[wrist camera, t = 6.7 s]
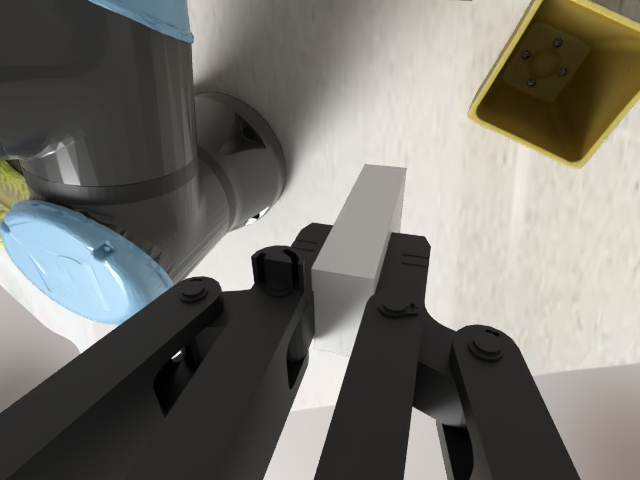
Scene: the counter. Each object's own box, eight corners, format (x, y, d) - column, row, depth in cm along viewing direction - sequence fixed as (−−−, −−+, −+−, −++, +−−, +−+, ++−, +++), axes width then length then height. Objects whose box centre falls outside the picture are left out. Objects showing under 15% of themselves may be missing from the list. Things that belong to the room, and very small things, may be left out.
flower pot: (529, -23, 31) (548, -21, 24) (637, 27, 31) (689, 44, 23) (465, 89, 36) (464, 118, 29) (556, 132, 36) (578, 172, 29)
